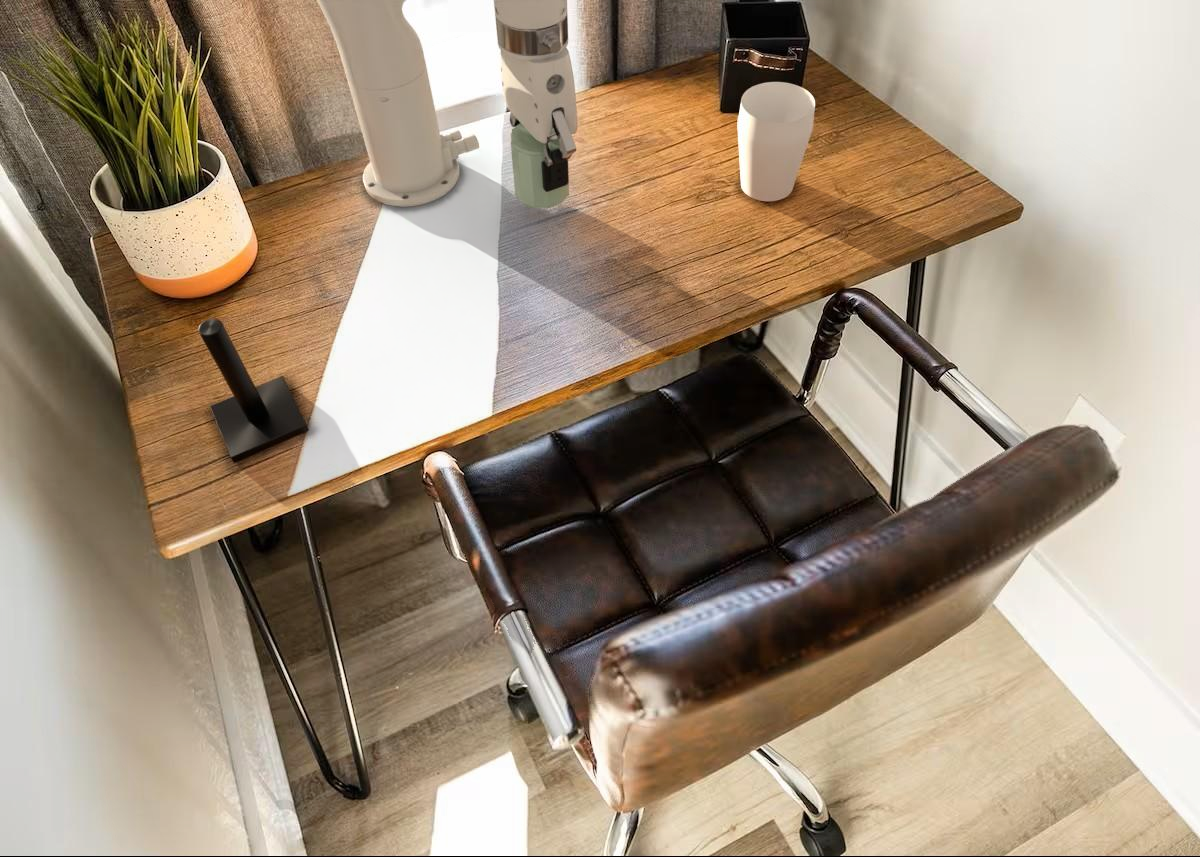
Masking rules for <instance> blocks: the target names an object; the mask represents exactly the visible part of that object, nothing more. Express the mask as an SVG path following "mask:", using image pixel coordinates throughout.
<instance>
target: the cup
mask: <svg viewBox="0 0 1200 857" xmlns="http://www.w3.org/2000/svg"><path fill="white" fill-rule="evenodd" d="M815 110H816V100H815V97H814V96H813V95H812V93H811V92H809V91H808V90H807V89H805V88H804V87H802V86H799V85H797V84H793V83H790V82H785V81H767V82H763V83H759V84H756V85H753V86H751V87H750V88H748V89H746V90H745V91H744V93H743V94H742V96H741V99H740V104H739V112H738V116H737V127H736V128H737V142H738V143H737V144H738V159H739V174H740V175H739V176H740V177H739V178H740V187H741V188H740V189H741V190H742V191H743V192H744V194H745V195H746V196H748V197H749V198H751V199H754V200H756V201H761V202H776V201H780V200H783V199H785V198H787V197H788V196H789V195H790V194H791V193H792V192H793V189H794V186H795V184H796V181H797V177H798V175H799V171H800V168H801V166H802V163H803V159H804V157H805V154H806V150H807V148H808V145H809V142H810V138H811V136H812V132H813V129H814V119H815Z"/></svg>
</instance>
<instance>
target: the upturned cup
mask: <svg viewBox="0 0 1200 857" xmlns="http://www.w3.org/2000/svg"><path fill="white" fill-rule="evenodd" d="M513 128H514V129H513ZM513 128H512V129H513V130H512V129H511V132H510V151H511V152H510V153H511V163H512V173H513V183H514V184H513V186H514V195H515V197H516V198H517V199H518V201H519V202H520V203H521V204H522V205H526V206H528V207H531V208H533V209H549V208H550V209H551V208H552V207H555V206H558V205H560V204H563V202H564V201H565V200H566V199H567V198H568V197H569V196H570V182H569V183H568V184H567V185H565V186H563V187H560V188H557V189H554V190H552V191H549V192H546V191H545V190H544V189H543V180H542V164H541V162H543V161H545V160H544V156H543V152H542V148H541V144H540V142H539V141H538V140H536V139H535V138H534V137H533V136H532V135H531V134H530V133H529V132H528V130H527V129H526V128H525V127H524V126H523V125H522V124H521V123H520V124H518V125H517V126H516V127H513ZM552 133H555V131H554V128H552V129H551V132H550V134H552ZM549 147H550V151H551V153H552V152H553V151H554V150H557V149H558V148H559V142H558V139H557V140H554V141H552V142H549ZM569 169H570V167H569V165H568V176H569V177H570V170H569Z"/></svg>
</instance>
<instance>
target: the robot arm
mask: <svg viewBox="0 0 1200 857" xmlns="http://www.w3.org/2000/svg"><path fill="white" fill-rule="evenodd" d="M406 1H407V0H316V2H317V3H318V4H317V5H319V6H318V7H319V8H320V9H321V11H322V14H323V15H324V18H325V19H326V22H327V24H328V26H329V29H330V31H331V33H332V36H333V38H334V41H335V44H336V47H337V51H338V53H339V56H340V60H341V63H342V67H343V71H344V74H345V78H346V80H347V83H348V87H349V91H350V94H351V99H352V102H353V105H354V109H355V112H356V116H357V119H358V123H359V127H360V130H361V135H362V137H363V140H364V145H365V148H366V152H367V155H368V159H369V162H368V164H367V165H366V166H365V168H364V170H363V174H362V182H363V184H364V188H365V190H366V192H367V194H368V195H369V197H371V198H372V199H373V200H375V201H377V202H379V203H381V204H383V205H384V204H385V205H387V206H393V207H403V208H406V207H414V206H421V205H425V204H428V203H432V202H433V201H436V200H438V199H440V198H442V197H443V196H445V195H446V194H448V193H449V192H450V191H451V190H452V189H453V188H454V187H455V185H456V184H457V183H458V180H459V178H460V166H459V162H458V160H457V159H459V155H464V154H467V153H470V152H473V151H475V150H478V149H480V143H479V140H478V138H477V136H476V135H475V134H474V133H472V134H471V135H467V136H464V137H463V136H462V133H461V131H460V130H459V129H457V130H454V131H451V132H449V133H448V134H445V135H443V134H441V132H440V127H439V121H438V118H437V112H436V107H435V103H434V98H433V91H432V87H431V82H430V78H429V73H428V68H427V63H426V58H425V54H424V50H423V45H422V42H421V39H420V37H419V35H418V33H417V32H416V30H415V29H414V27H413V26H412V25H411V24H410V23H409V21H408V20H407V19H406V17H405V14H404V12H403V6H404V3H405V2H406ZM493 6H494V15H495V16H494V17H495V18H494V20H495V27H496V38H497V39H496V40H497V46H498V48H499V50H500V74H501V76H500V77H501V87H502V95H503V99H504V103H505V105H506V107H507V109H508V110H509V111H510V115H509V123H510V126H511V127H512V128H511V131H512V130H513V129H514V128H515V127H516V126H517V125H518V124H520V123H521V124H522V125H523V126H524V127H525V128H526V129H527V130H528V132H529V133H530V134H531V135H532V136H533V137H534V138H535V139H536V140H538V141H539V142H540V144H541V148H542V152H543V156H544V160H545V161H543V162H541V164H542V180H543V189H544V190H545V191H546V192H549V191H552V190H554V189H557V188H560V187H563V186H565V185H567V184H568V183H569V184H570V175H569V176H568V166H569V160H570V158H571V157H572V156H573V154H575V153H576V151H577V145H576V143H575V141H574V137H573V135H574V134H577V131H578V107H577V95H576V86H575V85H576V84H575V77H574V72H573V64H572V61H571V55H570V51H569V50H568V48H567V47H568V44H569V20H568V19H569V18H568V0H493ZM552 128H554V131H555V133H552V134H550V132H551V129H552ZM557 139H558V142H559V148H558V149H557V150H554V151H553V152H552V153H551V151H550V147H549V142H552V141H554V140H557Z"/></svg>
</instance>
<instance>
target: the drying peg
mask: <svg viewBox="0 0 1200 857" xmlns="http://www.w3.org/2000/svg"><path fill="white" fill-rule="evenodd" d="M197 331H198V333H199V335H200V337H201V339H202V341H203V343H204V344H205V346H206V348H207V350H208V351H209V353H210V355H211V357H212V358H213V361H214V363H215V364H216V366H217V368H218V370H219V371H220V373H221V376H222V377H223V379H224V380H225V382H226V384H227V386H228V387H229V389H230V391H231V393H232V395H233V396H231V397H228V398H226V399H223V400H221V401H219V402H216V403H214V404H211V405H210V406H209V408H210V411H211V414H212V416H213V419H214V420H215V423H216V426H217V428H218V431H219V434H220V436H221V438H222V440H223V443H224V446H225V448H226V450H227V452H228V455H229V457H230V459H231V461H232V462H233V464H236V463H239V462H240V461H243V460H246V459H247V458H250V457H253V456H254V455H256V454H259V453H261V452H264V451H266V450H268V449H270V448H273V447H275V446H277V445H280V444H282V443H284V442H286V441H288V440H291V439H293V438H296V437H297V436H300V435H302V434H304V433H307V432H309V431H310V428H309V426H308V424H307V422H306V420H305V418H304V416H303V414H302V412H301V410H300V408H299V405H298V403H297V402H296V400H295V398H294V396H293V393H292V391H291V389H290V388H289V385H288V383H287V381H286V379H285V377H284V376H283V375H281V376H279V377H276V378H274V379H271V380H269V381H267V382H266V381H265V382H264V383H262V384H260V385H257V386H255V383H254V381H253V379H252V378H251V375H250V374H249V372H248V370H247V368H246V366H245V364H244V363H243V360H242V359H241V356H240V354H239V352H238V351H237V349H236V346H235V345H234V343H233V341H232V339H231V337H230V335H229V333H228V331H227V329H226V328H225V325H224V324H223V322H222V320H220V319H218V318H208V319H206V320H204V321H203V322H201V323H200V324H199V325H198V329H197Z"/></svg>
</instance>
